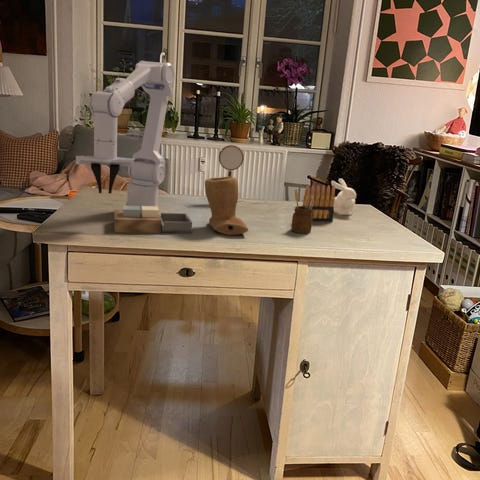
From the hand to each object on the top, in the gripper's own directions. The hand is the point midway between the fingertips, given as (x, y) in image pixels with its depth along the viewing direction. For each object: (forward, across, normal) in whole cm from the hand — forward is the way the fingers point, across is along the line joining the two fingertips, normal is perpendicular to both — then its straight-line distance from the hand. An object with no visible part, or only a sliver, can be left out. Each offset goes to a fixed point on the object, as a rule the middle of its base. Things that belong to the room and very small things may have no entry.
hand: (105, 192), depth 133 cm
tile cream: (+6, +12, 0) cm, 13 cm away
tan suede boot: (+10, +33, 0) cm, 34 cm away
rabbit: (+10, +81, +23) cm, 85 cm away
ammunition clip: (+10, +66, +11) cm, 68 cm away
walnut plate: (+9, +8, 0) cm, 13 cm away
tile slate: (+6, +7, 0) cm, 9 cm away
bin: (+9, +19, 0) cm, 21 cm away
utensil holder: (+10, +56, -1) cm, 57 cm away
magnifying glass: (+10, +42, +35) cm, 56 cm away
